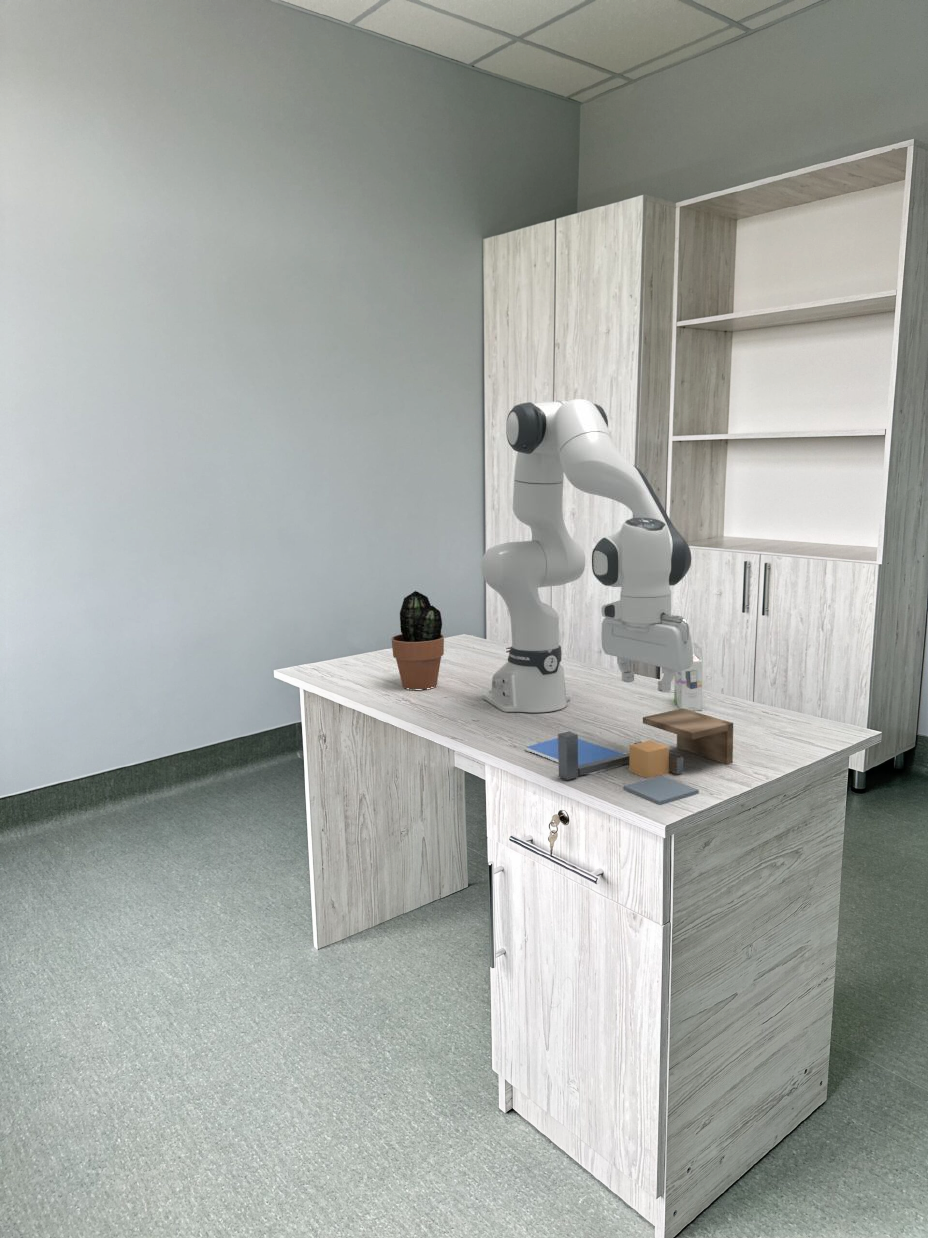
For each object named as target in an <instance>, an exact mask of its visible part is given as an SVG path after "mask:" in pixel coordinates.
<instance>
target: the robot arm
mask: <svg viewBox="0 0 928 1238" xmlns="http://www.w3.org/2000/svg"><path fill="white" fill-rule="evenodd" d="M505 432H506V439H507V442H508V445H509V446H510V447H511V449H512V450H513V451H515V452H517V454H516V459H515V467H514V475H513V476H514V477H513V496H512V497H513V499H512V511H513V515H514V516H515V517H516V519H517V520H518V521H519V522H521V523H522V524H524V525H526V526H528V527H529V529H530V531H531V540H523V541H512V542H511V541H509V542H504V543H501V544H498V545H494V546H492V547H489V548H488V549H487V550H486V551H485V553H484V554H483V556H482V559H481V567H480V568H481V575H482V577H483V579H484V581H485V583H486V584H487V585H488V586H489V587H490V588H491V589H493V590H494V591H495V592H497V594H499V595H500V597H501V598H502V600H503V601H504V603H505V605H506V608H507V610H508V613H509V614H508V615H509V618H510V627H511V628H510V629H511V646H510V647H506V648H505V649H506V651H505V652H506V653H508V657H507V661H506V662H505V664H504V665H502V666H501V667H500V668H499V669H498V670H497V671H495V673H494V674H493V675H492V679H491V690H488V691H487V692H486V691H485V692H484V693H482V696H481V697H482V699H483V700H484V701H486V702H488V703H490V704H491V705H493V706H494V707H496V708H498V709H499V710H500V711H502V712H506V713H509V712H511V713H514V712H515V713H516V712H521V713H547V712H554V711H559V710H562V709H564V708H566V707H567V706H568V701H570V700H571V698H570V695H569V694H567V687H566V677H565V670H564V667H563V665H562V664H561V662H562V654H563V652H562V647H561V645H560V617H559V614H558V613H557V611H556V610H555V609H554V608H553V606H550V604H549V605H548V604H547V603H545V602H543V601H542V599H541V598H540V595H539V588H547V587H548V588H549V587H557V586H563V585H566V584H568V583H569V584H570V583H571V582H575V581H577V580H579V579H580V578H581V577H582V575H583V573H584V571H585V569H586V555H585V552H584V550H583V548H582V546H581V545H580V544H579V543H578V542H577V541H576V540H574V539H573V537H572V536H571V535H570V534H569V531H568V529H567V527H566V525H565V520H564V514H563V496H564V495H563V494H564V492H563V491H564V477H566V479H567V480H568V482H569V483H570V484H571V485H572V486H573V487H574V488H576V489H578V490H579V491H582V492H584V493H586V494H590V495H594V496H599V497H603V498H607V499H610V500H613V501H616V502H618V503H620V504H622V505H624V506H626V507H627V508H628V509H629V510H630V511H631V512H632V514H633V516H634V517H632V518H629V519H626V520H625V521H624V522H623V523H622V526H621V528H620V530H618V531H617V532H615V533H613V534H610V535H608V536H605V537H602V538H601V539H600V540H599V541H598V542H597V543H596V544H595V546H594V548H593V549H592V552H591V569H592V574H593V576H594V577H595V579H596V580H598V581H599V583H601V584H602V585H604V586H605V587H610V588H611V587H612V588H621V590H620V594H619V595H620V599H619V600H615V601H613V602H610V603H606V604H604V605H602V607H601V608H600V609H601V611H600V612H601V615H602V617H603V619H602V622H601V647H602V650H603V653H604V654H605V655H608V656H612V657H615V658H616V663H617V665H618V668H619V670H620V672H621V681H622V682H625V683H633V682H635V672H634V671H632V669H631V665H630V663H631V661H633V662H638V663H642V664H646V665H651V666H654V667H658V668H659V667H660V668H661V674H663V676H662V679H661V680H659V681H657V691H658V692H662V693H669V692H671V691H672V682H673V679H675V674H676V671H680V670H685V669H689V668H690V667H691V665H692V664H693V653H694V649H693V641H692V637H691V636H692V635H691V632H690V625H689V624H688V622H687V621H686V620H685V619H684V617H683V616H680V615H674V614H672V589H671V587H670V586H676V585H678V583H679V582H681V581H682V580H683V579H684V577H685V576H686V575H687V574H688V572H689V570H690V569H691V566H692V553H691V549H690V546H689V544H688V543H687V541H686V539H685V538H684V537H683V536H682V535H681V532H679V530H678V529H677V528H676V527H675V526H674V524H673V522H672V520H671V519H670V517H669V515H668V513H667V511H666V510H665V508H664V507H663V505H662V503H661V501H660V500H659V498H658V496H657V494H656V492H655V491H654V489H653V487H652V486H651V483H650V482H649V480H648V478H647V477H646V475H645V474H644V473H643V472H642V470H641V469H640V468H639V467H637V466H635V465H634V464H632V463H631V462H630V461H629V460H628V459H627V458H626V457H625V456H624V455H623V454H622V453H621V451H620V450H619V449H618V447H617V445H616V443H615V442H614V439H613V437H612V434H611V431H610V429H609V420H608V415H607V413H606V412H605V410H604V408H603V407H602V406H601V405H598V404H597V403H593V402H591V401H590V400H588V399H584V398H575V399H571V400H556V401H542V402H535V403H533V402H532V401H531V402H523V403H519V404H516V405H514V406H512V408H511V410H510V411H509V413H508V415H507V418H506V424H505ZM564 475H565V476H564Z"/></svg>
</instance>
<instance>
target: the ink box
mask: <svg viewBox="0 0 928 1238" xmlns="http://www.w3.org/2000/svg"><path fill="white" fill-rule="evenodd" d="M673 685H674V686H673V687H674V688H673V690H674V691H673V692H674V695H673V696H674V697H673V698H674V699H673V701H674V703H675V704H676V706H677V707H678V708H679V709H682V708H684V709H687V710H690V711H694V712H697V711H702V710H703V647H702V645H700V644H699V643H698V642H696V641H695V640H693V664H692V665H691V667H690V668H689V669H685V670H680V671H676V674H675V676H674V684H673Z"/></svg>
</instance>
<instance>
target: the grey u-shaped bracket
mask: <svg viewBox="0 0 928 1238" xmlns="http://www.w3.org/2000/svg"><path fill="white" fill-rule="evenodd" d="M578 735H579V734H578V733H575V732H572V731H570V730H568V731H565V732H561V733H557V738H558V762H559V763H558V777H559V778H561V779H564V780H566V781H570V780H573V779H576V778H579V776H584V775H589V774H588V773H592V772H596V771H600V770H603V769H607V768H611V767H614V768H616V767H615V766H618V767H620V766H619V765H621V766H623V764H624V765H627V763H628V764H629V752H627V753H624V754H623V755H619V756H615V757H611V758H607V759H603V760H599V761H595V762H591V763H587V764H583V765H579V766H578V738H579V736H578ZM641 742H642V741H636V742H634V744H637V743H641ZM611 769H612V768H611ZM669 773H673V774H675V775H678V774H682V773H684V756H683V755H679V754H677V753H674V752H672V751H669Z"/></svg>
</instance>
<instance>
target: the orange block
mask: <svg viewBox="0 0 928 1238" xmlns="http://www.w3.org/2000/svg"><path fill="white" fill-rule="evenodd" d="M640 742H641V743H637V744H635V743H633V744H629V746H628V747H629V749H628V751H629V752H628V753H629V763H628V765H629V766H628V767H629V769H628V771H629V772H632V773H634V774H636V775H638V776H641V777H644V778H646V779H650V778H654V777H658V776H661V775H662V776H664V775H665V774H669V773H670V771H669V752H670V747H669V746H667V745H665V744H662V743H658V742H656V741H653V740H649V739H648V740H647V741H646V740H645V741H640Z"/></svg>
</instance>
